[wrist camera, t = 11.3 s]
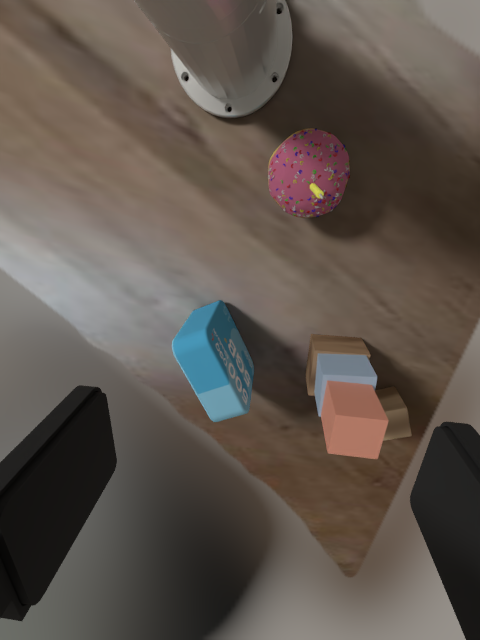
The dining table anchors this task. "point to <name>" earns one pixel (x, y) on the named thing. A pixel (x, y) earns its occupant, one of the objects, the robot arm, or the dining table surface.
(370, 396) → the salmon orange block
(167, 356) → the dining table surface
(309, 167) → the cupcake
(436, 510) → the robot arm
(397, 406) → the block
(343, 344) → the tower base
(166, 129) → the dining table surface
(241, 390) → the data package
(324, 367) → the tower top
